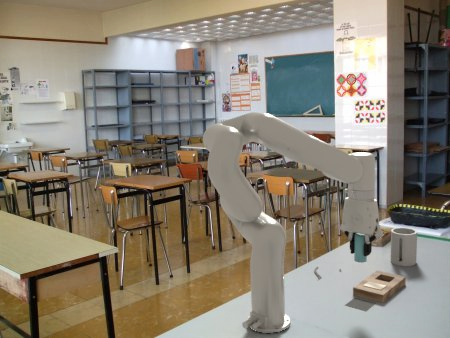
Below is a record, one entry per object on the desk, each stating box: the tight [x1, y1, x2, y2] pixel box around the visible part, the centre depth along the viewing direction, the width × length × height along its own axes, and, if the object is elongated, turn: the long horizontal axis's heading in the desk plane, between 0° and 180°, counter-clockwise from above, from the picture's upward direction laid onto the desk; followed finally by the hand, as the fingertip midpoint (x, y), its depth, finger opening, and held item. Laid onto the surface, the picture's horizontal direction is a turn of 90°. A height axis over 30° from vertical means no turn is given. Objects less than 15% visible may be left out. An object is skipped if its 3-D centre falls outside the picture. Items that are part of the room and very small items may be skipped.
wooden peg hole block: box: [352, 270, 407, 303], centre depth 165 cm, size 18×10×3 cm, turn 139°
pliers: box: [313, 266, 342, 281], centre depth 177 cm, size 10×1×20 cm
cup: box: [390, 227, 418, 267], centre depth 189 cm, size 9×9×12 cm
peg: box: [353, 233, 368, 264], centre depth 151 cm, size 4×4×8 cm
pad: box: [344, 296, 377, 312], centre depth 155 cm, size 7×7×1 cm
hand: (360, 253), depth 152 cm, fingers closed on peg, 3 cm apart
